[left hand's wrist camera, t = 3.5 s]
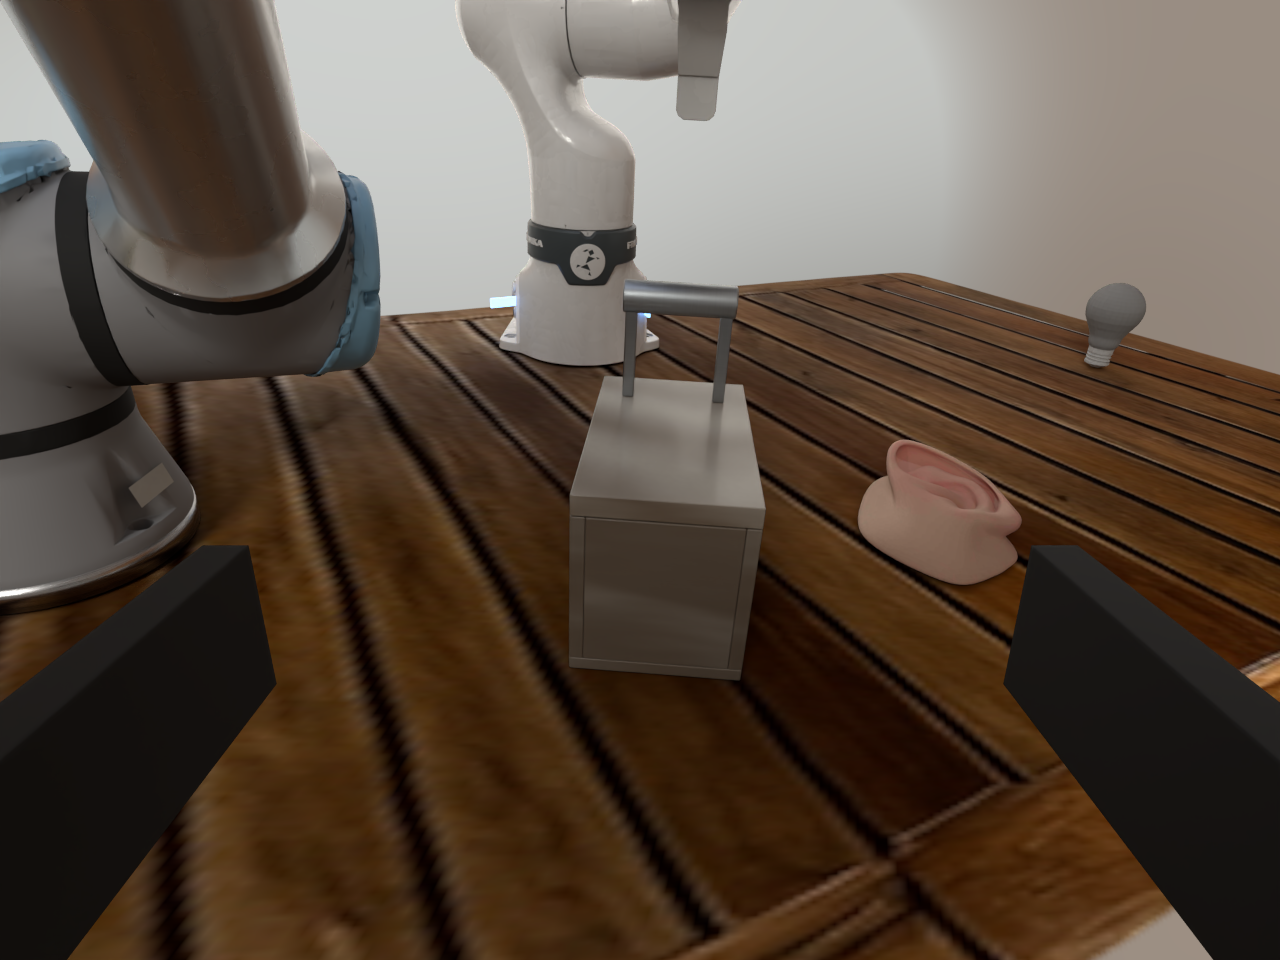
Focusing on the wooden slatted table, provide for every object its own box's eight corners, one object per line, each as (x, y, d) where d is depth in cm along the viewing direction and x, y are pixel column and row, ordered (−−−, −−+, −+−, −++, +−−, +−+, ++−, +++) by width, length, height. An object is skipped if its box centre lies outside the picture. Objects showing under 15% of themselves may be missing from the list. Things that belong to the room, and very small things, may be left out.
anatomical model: (1022, 550, 44) (837, 494, 50) (1003, 603, 46) (827, 543, 51) (1046, 469, 55) (890, 429, 60) (1029, 515, 56) (880, 473, 62)
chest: (599, 519, 53) (602, 397, 49) (726, 528, 53) (741, 406, 49) (568, 667, 40) (569, 516, 35) (740, 681, 39) (762, 530, 35)
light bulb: (1074, 370, 88) (1103, 286, 84) (1062, 355, 93) (1089, 275, 89) (1129, 377, 87) (1162, 292, 82) (1115, 361, 92) (1144, 281, 87)
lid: (604, 391, 49) (607, 266, 46) (741, 400, 49) (756, 275, 45) (569, 515, 35) (570, 347, 31) (763, 529, 35) (788, 362, 31)
